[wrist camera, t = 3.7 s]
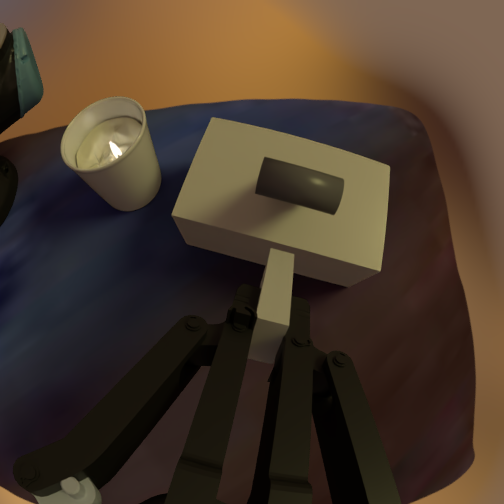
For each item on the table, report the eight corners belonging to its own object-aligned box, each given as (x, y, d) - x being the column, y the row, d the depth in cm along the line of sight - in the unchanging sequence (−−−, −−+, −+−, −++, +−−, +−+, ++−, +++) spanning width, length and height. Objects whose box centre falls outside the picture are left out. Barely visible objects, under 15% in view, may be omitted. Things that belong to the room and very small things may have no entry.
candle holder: (172, 152, 39) (154, 92, 28) (161, 218, 37) (132, 169, 25) (109, 154, 39) (77, 101, 28) (93, 216, 36) (48, 173, 25)
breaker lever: (263, 189, 28) (253, 194, 18) (270, 164, 28) (264, 155, 17) (315, 203, 28) (336, 217, 17) (321, 178, 28) (347, 178, 17)
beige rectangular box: (186, 243, 36) (171, 215, 27) (217, 158, 39) (213, 115, 31) (348, 287, 35) (380, 271, 27) (362, 198, 39) (390, 164, 30)
